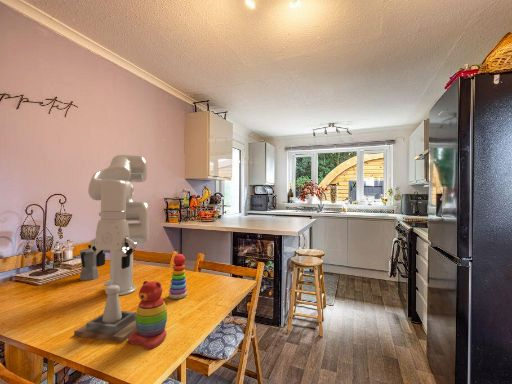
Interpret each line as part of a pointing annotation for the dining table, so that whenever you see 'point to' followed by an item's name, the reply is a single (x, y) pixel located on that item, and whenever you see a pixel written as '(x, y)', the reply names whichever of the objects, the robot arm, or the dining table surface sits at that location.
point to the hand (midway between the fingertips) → (113, 266)
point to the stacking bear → (150, 317)
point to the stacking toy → (178, 279)
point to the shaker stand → (109, 328)
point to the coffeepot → (88, 264)
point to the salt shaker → (112, 306)
